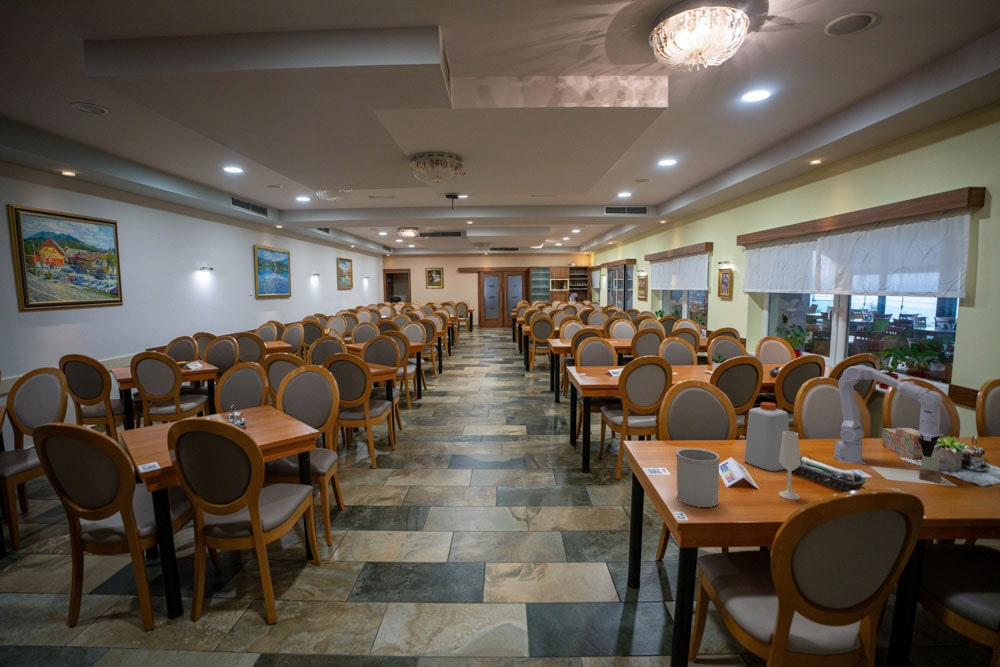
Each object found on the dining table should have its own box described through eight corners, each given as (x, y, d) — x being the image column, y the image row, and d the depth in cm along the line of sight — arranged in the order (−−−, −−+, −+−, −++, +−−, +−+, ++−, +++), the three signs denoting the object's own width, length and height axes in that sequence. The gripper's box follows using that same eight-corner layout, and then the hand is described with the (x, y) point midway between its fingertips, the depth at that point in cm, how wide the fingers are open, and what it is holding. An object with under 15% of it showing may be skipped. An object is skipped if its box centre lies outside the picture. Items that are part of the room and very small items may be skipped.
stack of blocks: (881, 446, 215) (882, 422, 214) (896, 446, 214) (897, 422, 213) (913, 461, 194) (914, 434, 193) (929, 462, 193) (931, 435, 192)
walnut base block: (919, 479, 173) (919, 468, 173) (920, 475, 177) (921, 464, 177) (940, 483, 169) (940, 472, 168) (941, 479, 173) (941, 468, 172)
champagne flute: (804, 497, 160) (805, 434, 158) (790, 500, 158) (792, 436, 156) (787, 490, 166) (789, 429, 165) (774, 493, 164) (775, 431, 163)
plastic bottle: (771, 473, 183) (773, 408, 181) (740, 461, 197) (741, 401, 195) (795, 467, 189) (796, 405, 187) (762, 457, 203) (764, 398, 201)
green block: (921, 468, 173) (922, 456, 172) (922, 465, 176) (923, 453, 176) (938, 471, 169) (938, 459, 169) (938, 468, 172) (939, 456, 172)
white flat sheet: (887, 480, 174) (887, 479, 173) (869, 467, 188) (869, 466, 188) (957, 487, 166) (957, 485, 166) (933, 473, 180) (933, 471, 180)
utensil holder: (670, 490, 168) (670, 446, 167) (710, 491, 166) (710, 447, 165) (682, 508, 153) (683, 460, 152) (726, 509, 152) (727, 461, 151)
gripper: (942, 426, 165) (940, 461, 166) (945, 419, 174) (943, 452, 175) (917, 423, 170) (915, 456, 171) (920, 416, 180) (919, 448, 181)
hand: (928, 454), depth 174 cm, fingers open, 7 cm apart
